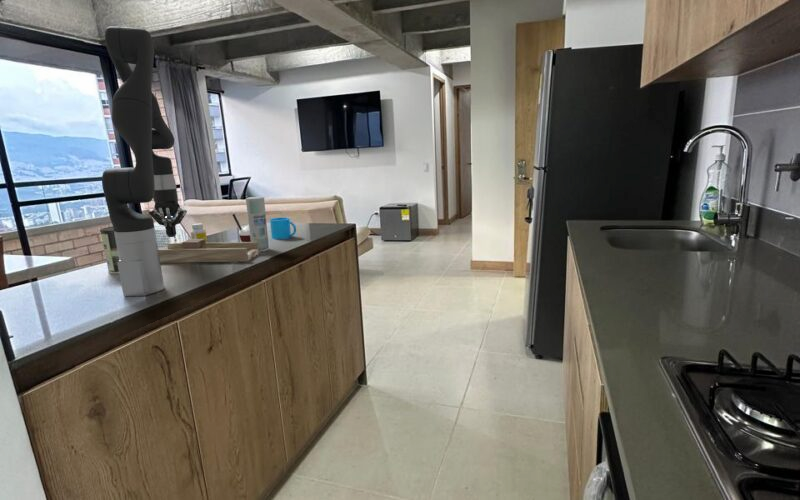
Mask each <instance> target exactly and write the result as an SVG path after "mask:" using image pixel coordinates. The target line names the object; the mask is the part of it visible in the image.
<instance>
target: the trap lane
mask: <svg viewBox="0 0 800 500" xmlns="http://www.w3.org/2000/svg"><path fill="white" fill-rule="evenodd" d="M166 246H167V248H166V249H165V248H164V249H161V248H158V252H159V258H160V264H162V263H163V264H164V263H165V264H166V263H167V264H169V263H222V262H223V263H225V262H226V263H228V262H229V263H230V262H231V263H232V262H238V261H240V262H249V261H250V260H252V259H254V258H256V257H257V256H258V255H260V252H259V244H258V242H242V241H232V242H231V241H228V242H224V241H223V242H217V241H216V242H207V243H206V247H207V249H183V245H182V242H177V243H176V242H171V243H170V242H168V243H167V244H166ZM256 255H257V256H256ZM253 257H254V258H253Z"/></svg>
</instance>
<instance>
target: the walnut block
mask: <svg viewBox="0 0 800 500" xmlns="http://www.w3.org/2000/svg"><path fill="white" fill-rule="evenodd" d="M181 243H182V245H183V249H207V247H206V240H205V239H191V238H189V239H187V240H185V241H182V242H181Z"/></svg>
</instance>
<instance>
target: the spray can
mask: <svg viewBox="0 0 800 500" xmlns="http://www.w3.org/2000/svg"><path fill="white" fill-rule="evenodd" d="M245 204H246V212H247V220H248V227H249V230H250V238H251V242H258V244H259V253H261V251H263V252H266V250H267V251H269V250H270V247H269V236H268V226H267V225H268V223H267V216H266V214H267V213H266V204H265V196H252V197H251V196H250V197H246V198H245Z"/></svg>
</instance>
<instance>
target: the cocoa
mask: <svg viewBox="0 0 800 500" xmlns="http://www.w3.org/2000/svg"><path fill="white" fill-rule="evenodd" d="M231 216H232V217H233V219H234V221H235V223H236V226H237V227H238V229H239V231H238V234H239V235H238V237H239V239H240V242H251V238H250V230H249V226H245V227H243V228H242V226H241V224H240V222H239V220H238V218H237V216H236V214H235V213H232V215H231Z"/></svg>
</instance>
